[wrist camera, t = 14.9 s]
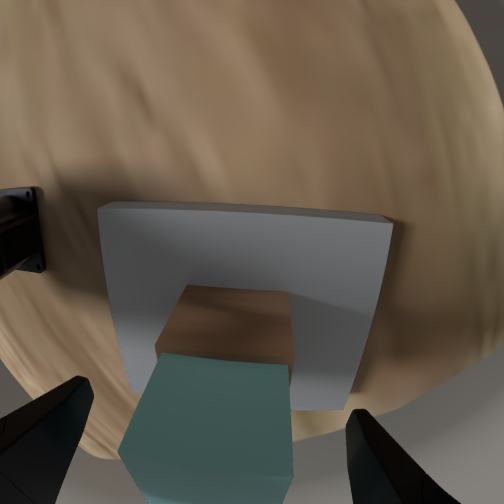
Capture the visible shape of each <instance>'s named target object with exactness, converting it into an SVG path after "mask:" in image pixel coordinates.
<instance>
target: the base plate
mask: <svg viewBox="0 0 504 504" xmlns="http://www.w3.org/2000/svg"><path fill="white" fill-rule="evenodd" d="M97 214H98V225H99V235H100V244H101V252H102V259H103V266H104V273H105V280H106V286H107V291H108V297H109V302H110V308H111V313H112V318H113V322H114V327H115V331H116V336H117V340H118V344H119V348H120V352H121V356H122V360H123V364H124V368H125V371H126V375H127V378H128V382H129V385H130V388H131V392H133V393H138V394H143V392H144V390H145V388H146V386H147V383H148V381H149V379H150V377H151V375H152V373H153V370H154V368H155V366H156V364H157V356H156V350H155V343H156V341H157V339H158V337H159V335H160V334H161V332H162V330H163V328H164V326H165V324H166V322H167V320H168V319H169V317H170V315H171V313H172V311H173V309H174V307H175V306H176V304H177V302H178V300H179V298H180V296H181V295H182V293H183V291H184V289H185V287H186V285H198V286H211V287H224V288H238V289H252V290H268V291H285V292H288V296H289V305H290V314H291V323H292V332H293V342H294V351H295V361H294V367H293V373H292V378H291V384H290V389H289V390H290V408H291V411H321V410H344V407H345V404H346V402H347V399H348V396H349V394H350V391H351V388H352V385H353V382H354V379H355V376H356V374H357V371H358V367H359V364H360V361H361V358H362V355H363V352H364V349H365V345H366V342H367V339H368V335H369V332H370V328H371V324H372V321H373V317H374V313H375V310H376V306H377V302H378V298H379V293H380V289H381V285H382V281H383V276H384V271H385V267H386V262H387V257H388V252H389V247H390V241H391V235H392V230H393V223H391V222H390V221H389V220H387V219H386V218H384V217H383V216H381V215H376V214H366V213H355V212H344V211H333V210H321V209H308V208H294V207H279V206H262V205H243V204H221V203H193V202H144V201H113V202H111V203H108V204H106V205H104V206H102V207H99V208H97Z"/></svg>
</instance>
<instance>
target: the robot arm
mask: <svg viewBox="0 0 504 504" xmlns="http://www.w3.org/2000/svg"><path fill="white" fill-rule="evenodd" d="M29 193H30V195H29ZM14 270H22V271H28V272H35V273H42V272H44V271H45V270H46V264H45V259H44V253H43V247H42V241H41V235H40V228H39V221H38V212H37V203H36V193H35V189H34V188H33V187H21V188H11V189H2V190H0V280H1V279H2V278H4V277H5V276H7V275H8V274H10V273H11V272H13V271H14ZM93 400H94V393H93V390H92V387H91V385H90V382H89V380H88V379H87V378H86V377H82V376H75V377H73V378H72V379H70V380H68V381H66V382H65V383H63V384H61V385H59V386H58V387H56V388H54V389H52V390H51V391H49V392H47V393H45V394H44V395H42V396H40V397H38V398H36V399H35V400H33V401H31V402H29V403H28V404H26V405H24V406H22V407H21V408H19V409H17V410H15V411H13V412H12V413H10V414H8V415H7V416H4V417H3V418H1V419H0V504H55V502H56V500H57V496H58V494H59V491H60V489H61V486H62V483H63V481H64V478H65V476H66V473H67V470H68V468H69V465H70V463H71V460H72V458H73V456H74V453H75V451H76V448H77V446H78V444H79V441H80V439H81V437H82V434H83V431H84V428H85V425H86V422H87V419H88V415H89V412H90V409H91V406H92V403H93ZM346 447H347V465H348V466H347V467H348V474H349V480H350V486H351V493H352V499H353V504H461V503H460V502H458V501H457V500H456V499H454V498H453V497H452V496H451V495H449V494H448V493H447V492H446V491H444V490H443V489H442V488H441V487H440V486H439V485H438V484H437V483H436V482H435V481H434V480H433V479H432V478H431V477H430V476H429V475H428V474H426V472H425V471H424V470H423V469H422V468H421V467H420V466H419V465H418V464H417V463H416V462H415V461H414V460H413V459H412V458H411V457H410V456H409V454H407V452H406V451H405V450H404V449H403V448H402V447H401V446H400V445H399V444H398V443H397V442H396V441H395V440H394V439H393V438H392V437H391V436H390V435H389V433H388V432H387V431H386V430H385V429H384V428H383V427H382V426H381V425H380V424H379V423H378V422H377V421H376V420H375V418H374V417H373V416H372V415H371V414H370V413H369V412H368V411H367V410H366V409H354V410H353V411H352V413H351V415H350V417H349V419H348V421H347V424H346Z"/></svg>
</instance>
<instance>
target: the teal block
mask: <svg viewBox="0 0 504 504" xmlns="http://www.w3.org/2000/svg"><path fill="white" fill-rule="evenodd" d="M118 453H119V455H120V457H121V459H122V461H123V463H124V464H125V466H126V468H127V470H128V471H129V473H130V474H131V476H132V478H133V480H134V481H135V483H136V485H137V486H138V488H139V489H140V491H141V492H142V494H143V496H144V497H145V499H146V500H147V502H148V503H149V504H282V503H283V500H284V498H285V495H286V493H287V491H288V489H289V486H290V484H291V481H292V479H293V450H292V428H291V408H290V390H289V373H288V365H279V364H262V363H248V362H236V361H225V360H216V359H207V358H198V357H190V356H183V355H176V354H169V353H161V355H160V358H159V360H158V362H157V364H156V366H155V368H154V370H153V373H152V375H151V377H150V379H149V381H148V383H147V386H146V388H145V390H144V392H143V394H142V397H141V399H140V401H139V403H138V405H137V408H136V410H135V412H134V414H133V417H132V419H131V421H130V423H129V426H128V428H127V430H126V433H125V435H124V437H123V440H122V442H121V444H120V447H119V449H118Z"/></svg>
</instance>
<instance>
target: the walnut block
mask: <svg viewBox="0 0 504 504" xmlns="http://www.w3.org/2000/svg"><path fill="white" fill-rule="evenodd" d="M155 350H156V356H157V362H158V360H159V358H160V355H161V353H169V354H176V355H183V356H190V357H198V358H207V359H216V360H225V361H236V362H248V363H262V364H279V365H288V373H289V389H290V384H291V378H292V373H293V367H294V361H295V351H294V342H293V332H292V323H291V314H290V305H289V296H288V292H285V291H268V290H252V289H238V288H224V287H211V286H198V285H186V287H185V289H184V291H183V293H182V295H181V296H180V298H179V300H178V302H177V304H176V306H175V307H174V309H173V311H172V313H171V315H170V317H169V319H168V320H167V322H166V324H165V326H164V328H163V330H162V332H161V334H160V335H159V337H158V339H157V341H156V343H155Z"/></svg>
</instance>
